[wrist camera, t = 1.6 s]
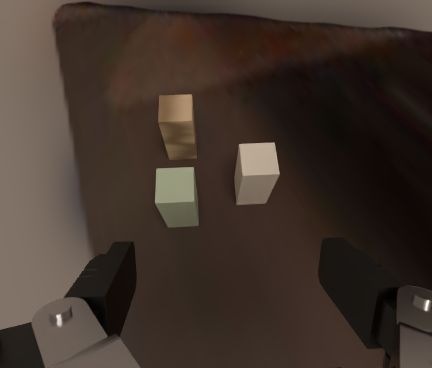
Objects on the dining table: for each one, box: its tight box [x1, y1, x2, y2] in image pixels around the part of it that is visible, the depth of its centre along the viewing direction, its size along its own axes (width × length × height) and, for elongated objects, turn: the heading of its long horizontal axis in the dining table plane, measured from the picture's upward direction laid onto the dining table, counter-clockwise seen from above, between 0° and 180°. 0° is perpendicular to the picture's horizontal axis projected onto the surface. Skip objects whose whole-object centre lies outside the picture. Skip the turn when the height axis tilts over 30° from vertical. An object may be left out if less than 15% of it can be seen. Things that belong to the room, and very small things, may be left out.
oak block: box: [158, 95, 197, 160], centre depth 42 cm, size 4×4×10 cm
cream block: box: [234, 143, 280, 205], centre depth 39 cm, size 4×4×10 cm
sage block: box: [155, 167, 199, 227], centre depth 37 cm, size 4×4×10 cm
